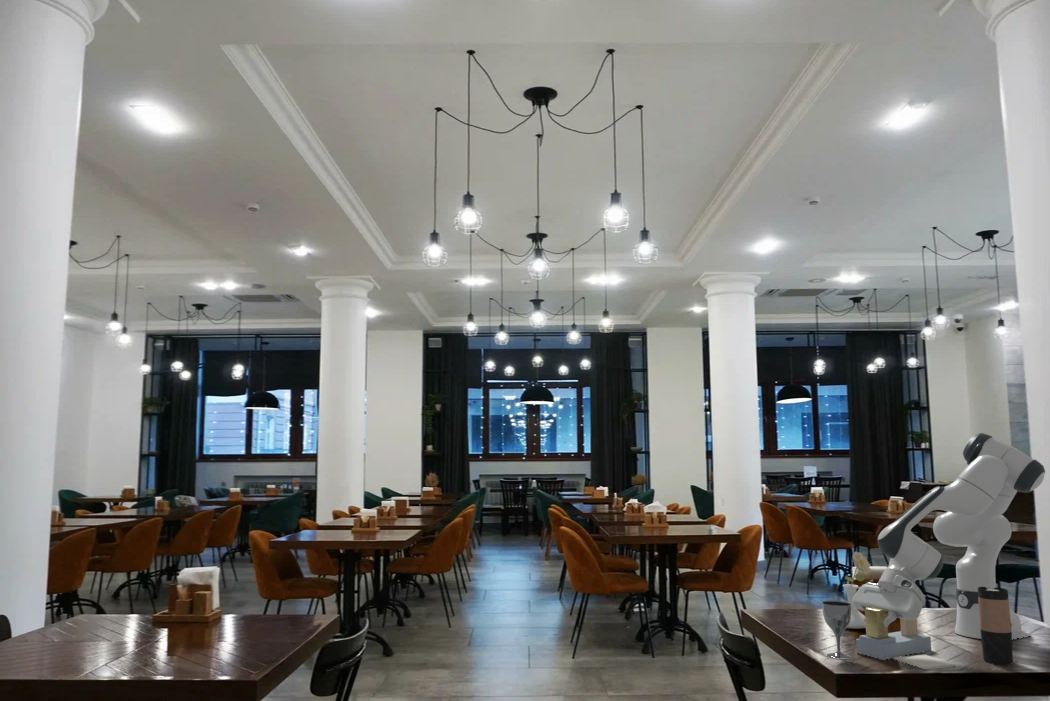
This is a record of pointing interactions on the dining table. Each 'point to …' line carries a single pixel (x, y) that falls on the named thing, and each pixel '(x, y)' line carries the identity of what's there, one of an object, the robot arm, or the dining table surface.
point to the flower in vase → (863, 567)
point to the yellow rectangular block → (875, 623)
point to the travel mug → (995, 625)
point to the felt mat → (924, 661)
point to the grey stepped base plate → (895, 642)
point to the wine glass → (837, 621)
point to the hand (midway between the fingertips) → (875, 624)
